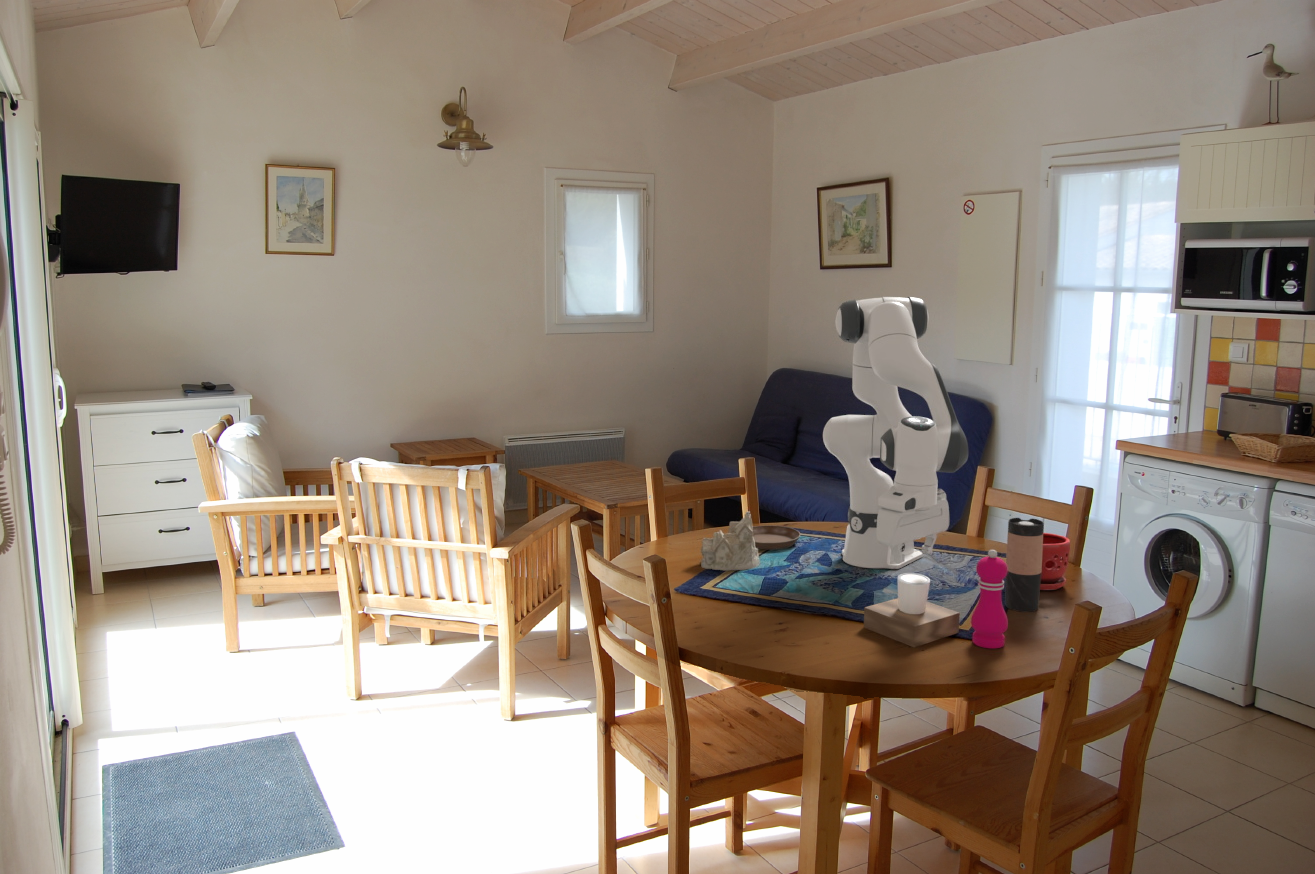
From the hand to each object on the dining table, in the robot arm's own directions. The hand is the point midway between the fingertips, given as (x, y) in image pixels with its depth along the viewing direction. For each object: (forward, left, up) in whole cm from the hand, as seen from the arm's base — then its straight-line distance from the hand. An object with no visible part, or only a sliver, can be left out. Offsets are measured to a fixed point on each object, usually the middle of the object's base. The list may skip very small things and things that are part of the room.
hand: (913, 558), depth 207 cm
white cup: (0, 0, -11) cm, 11 cm away
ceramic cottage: (-4, -62, -16) cm, 64 cm away
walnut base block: (0, 0, -16) cm, 16 cm away
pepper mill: (-6, +15, -16) cm, 23 cm away
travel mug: (-31, +7, -16) cm, 35 cm away
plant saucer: (-24, -68, -16) cm, 74 cm away
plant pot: (-48, +1, -16) cm, 50 cm away
